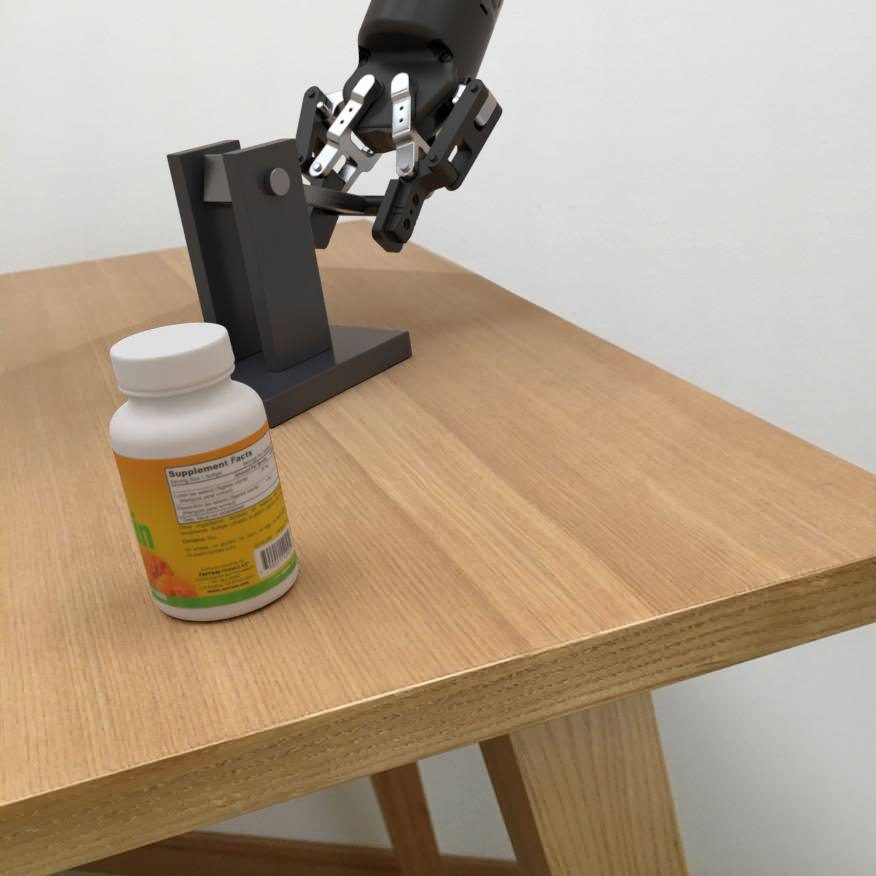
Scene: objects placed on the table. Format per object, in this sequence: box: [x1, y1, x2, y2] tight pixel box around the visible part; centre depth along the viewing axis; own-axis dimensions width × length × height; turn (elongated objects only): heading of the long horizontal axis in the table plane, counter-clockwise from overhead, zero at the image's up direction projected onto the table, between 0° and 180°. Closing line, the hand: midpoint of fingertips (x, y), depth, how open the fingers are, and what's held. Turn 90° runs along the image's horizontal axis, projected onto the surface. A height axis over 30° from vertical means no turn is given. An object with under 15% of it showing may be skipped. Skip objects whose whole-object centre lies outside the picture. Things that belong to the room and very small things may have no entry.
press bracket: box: [166, 137, 413, 428], centre depth 66 cm, size 12×10×13 cm
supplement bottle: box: [108, 322, 299, 622], centre depth 44 cm, size 5×5×10 cm
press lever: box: [203, 154, 385, 218], centre depth 68 cm, size 12×5×2 cm, turn 149°
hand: (347, 242), depth 72 cm, fingers closed on press lever, 5 cm apart
